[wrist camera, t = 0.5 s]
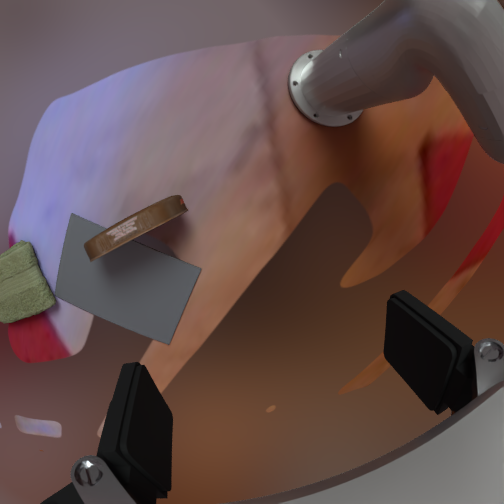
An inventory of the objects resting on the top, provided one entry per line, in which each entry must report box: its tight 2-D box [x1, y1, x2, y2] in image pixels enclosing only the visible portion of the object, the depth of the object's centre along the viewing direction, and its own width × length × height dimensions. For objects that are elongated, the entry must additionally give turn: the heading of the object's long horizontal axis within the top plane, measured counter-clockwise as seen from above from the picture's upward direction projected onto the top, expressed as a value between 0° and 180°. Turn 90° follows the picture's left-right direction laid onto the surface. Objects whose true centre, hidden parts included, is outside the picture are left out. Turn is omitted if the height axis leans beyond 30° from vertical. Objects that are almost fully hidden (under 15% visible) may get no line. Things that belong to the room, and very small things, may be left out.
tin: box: [84, 195, 188, 262], centre depth 34 cm, size 15×3×8 cm, turn 112°
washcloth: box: [0, 240, 56, 323], centre depth 35 cm, size 13×18×3 cm
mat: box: [55, 213, 201, 345], centre depth 40 cm, size 15×22×1 cm
